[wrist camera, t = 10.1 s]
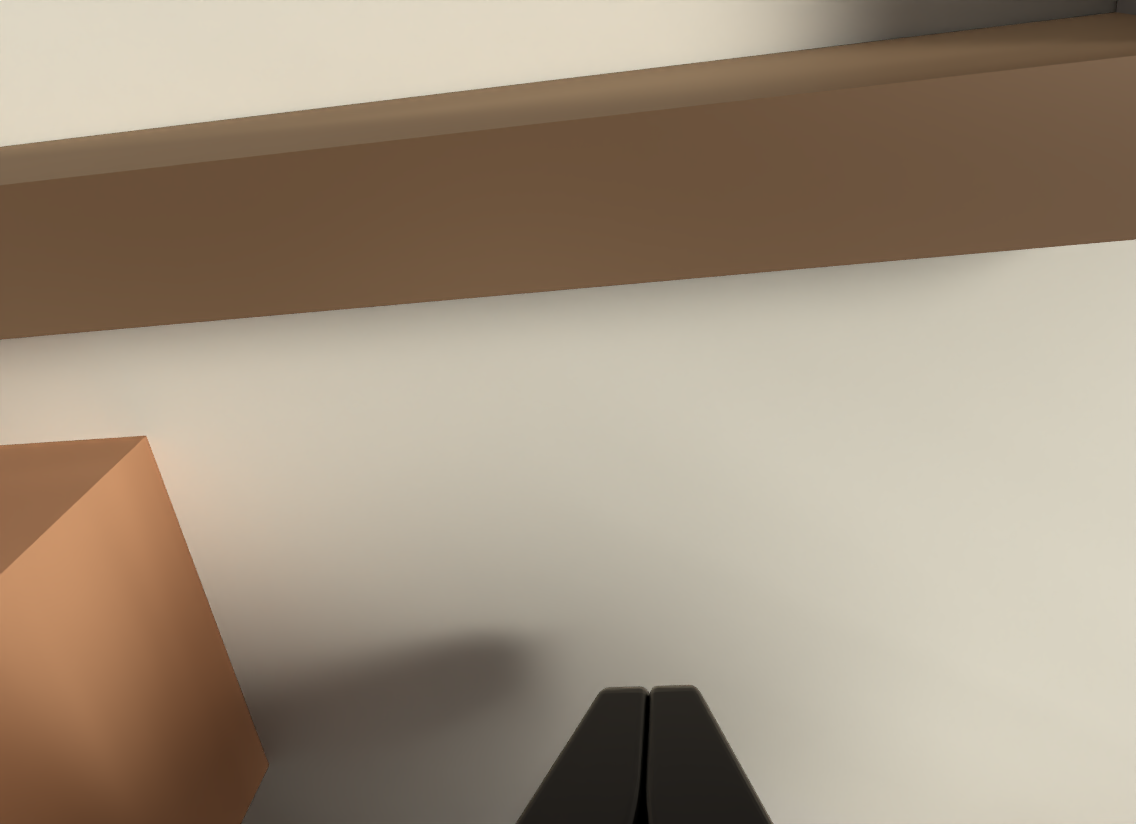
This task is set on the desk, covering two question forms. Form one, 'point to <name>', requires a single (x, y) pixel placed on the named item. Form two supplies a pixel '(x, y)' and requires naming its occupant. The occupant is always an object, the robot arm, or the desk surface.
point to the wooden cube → (111, 650)
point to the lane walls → (584, 182)
